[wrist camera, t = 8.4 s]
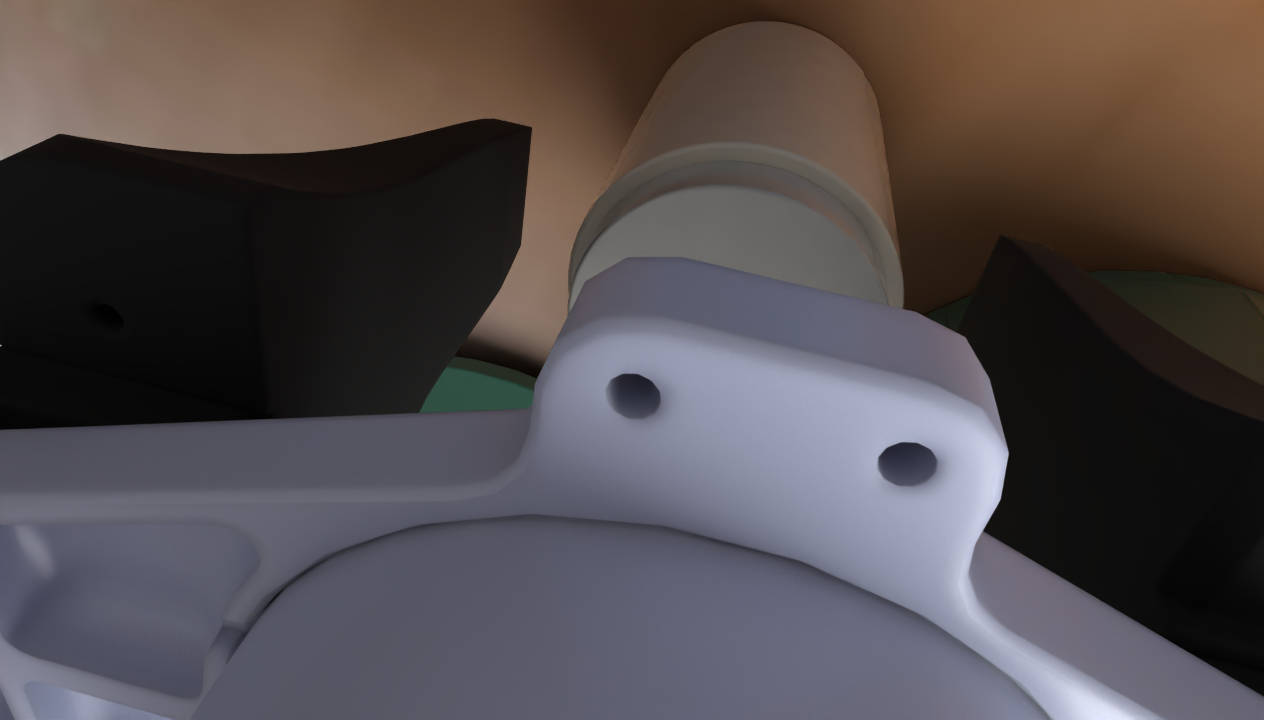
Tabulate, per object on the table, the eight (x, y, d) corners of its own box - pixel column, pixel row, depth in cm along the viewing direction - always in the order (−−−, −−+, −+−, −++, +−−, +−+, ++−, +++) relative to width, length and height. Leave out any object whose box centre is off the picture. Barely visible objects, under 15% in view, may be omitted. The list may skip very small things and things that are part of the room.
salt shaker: (864, 254, 17) (880, 491, 12) (646, 239, 18) (560, 454, 12) (898, 24, 15) (941, 180, 9) (646, 16, 16) (538, 156, 10)
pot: (1263, 732, 23) (1382, 997, 18) (760, 657, 25) (742, 876, 20) (1553, 298, 15) (1891, 544, 10) (805, 244, 17) (795, 428, 13)
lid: (716, 732, 27) (692, 926, 22) (308, 665, 29) (211, 829, 25) (741, 366, 19) (713, 550, 15) (185, 313, 22) (12, 458, 17)
